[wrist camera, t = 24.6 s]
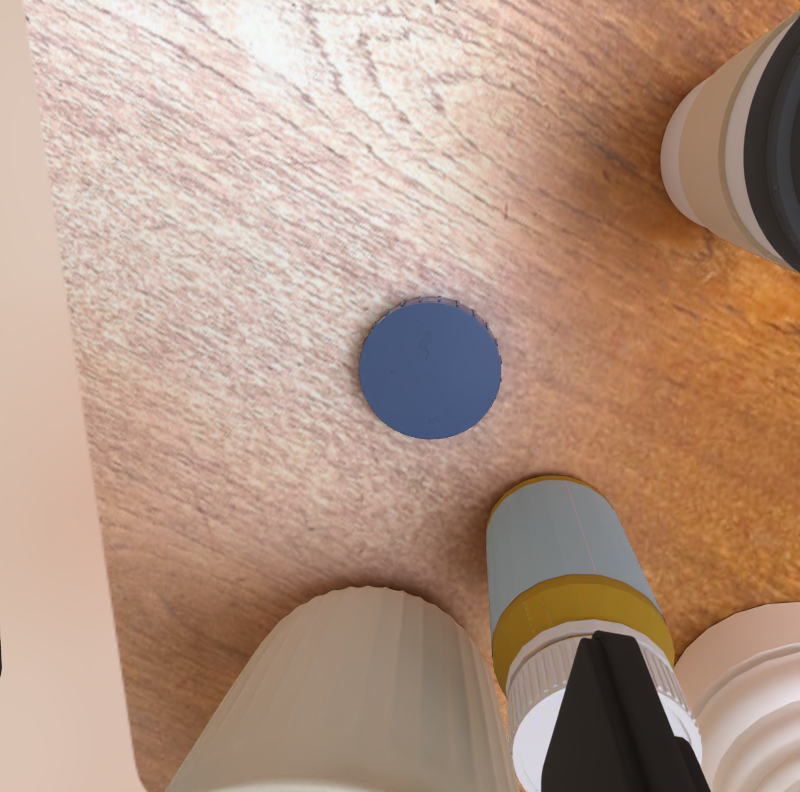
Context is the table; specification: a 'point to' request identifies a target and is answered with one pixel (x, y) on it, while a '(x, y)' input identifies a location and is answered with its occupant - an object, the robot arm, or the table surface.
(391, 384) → the lid
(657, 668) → the bottle
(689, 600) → the table surface
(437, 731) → the canister
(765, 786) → the honey pot
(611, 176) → the table surface
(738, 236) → the coffee cup
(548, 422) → the table surface
